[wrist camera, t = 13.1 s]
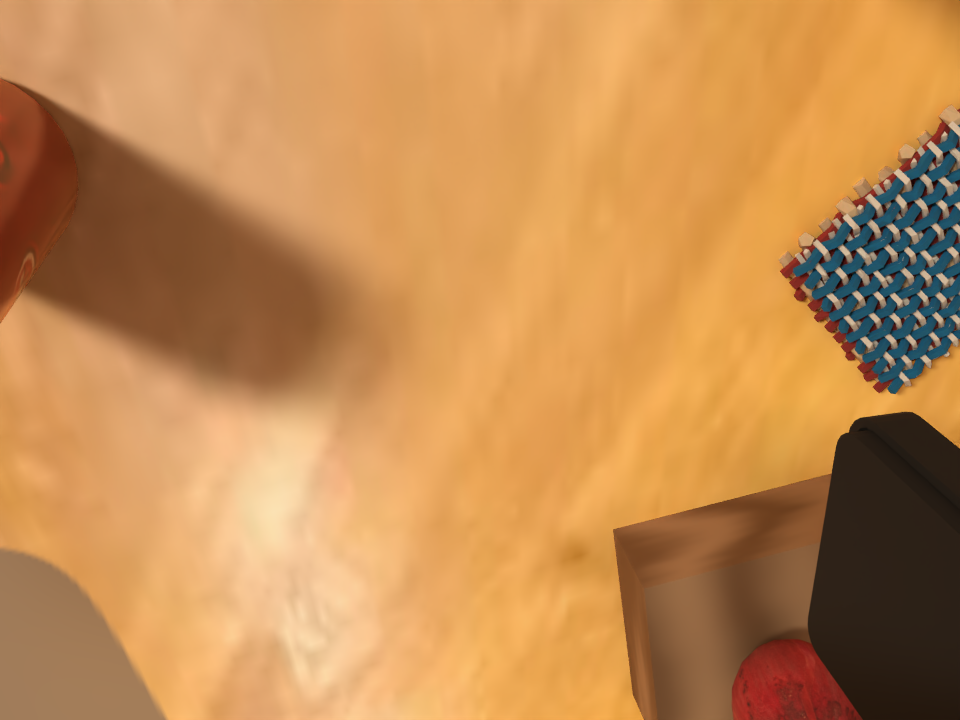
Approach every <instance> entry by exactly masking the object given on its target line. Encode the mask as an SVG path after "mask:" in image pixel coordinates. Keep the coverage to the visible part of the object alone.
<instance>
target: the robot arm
mask: <svg viewBox="0 0 960 720" xmlns="http://www.w3.org/2000/svg"><path fill="white" fill-rule="evenodd" d="M808 633H809V637H810V641H811V643H812V646H813V648H814V650H815V652H816V654H817V655H818V657H819V658H820V660H821V661H822V662H823V664H824V665H825V667H826V668H827V670H828V671H829V672H830V674H831V675H832V677H833V678H834V679H835V681H836V682H837V684H838V685H839V687H840V688H841V689H842V691H843V692H844V694H845V695H846V697H847V698H848V699H849V701H850V702H851V704H852V705H853V707H854V708H855V709H856V711H857V712H858V714H859V715H860V716H861V718H862V719H863V720H960V449H959V448H958V447H957V446H956V445H954V444H953V443H952V442H951V441H949V440H948V439H947V438H946V437H945V436H943V435H942V434H941V433H940V432H938V431H937V430H936V429H935V428H933V427H932V426H931V425H930V424H929V423H927V422H926V421H925V420H924V419H922V418H921V417H920V416H918V415H916V414H914V413H913V412H900V413H893V414H885V415H878V416H870V417H863V418H859V419H858V420H856V421H854V423H853V424H852V426H851V427H850V430H849V433H845V434H843V435H841V437H840V438H839V440H838V442H837V446H836V451H835V457H834V463H833V469H832V475H831V481H830V487H829V493H828V499H827V505H826V511H825V517H824V523H823V529H822V535H821V541H820V548H819V554H818V560H817V566H816V572H815V578H814V584H813V590H812V596H811V602H810V608H809V614H808Z"/></svg>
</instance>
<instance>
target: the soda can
mask: <svg viewBox="0 0 960 720" xmlns="http://www.w3.org/2000/svg"><path fill="white" fill-rule="evenodd" d="M77 195H78V173H77V167H76V163H75V160H74V156H73V152H72V150H71V148H70V145H69V143H68V141H67V139H66V137H65V135H64V133H63V131H62V130H61V129H60V127H59V126H58V125H57V123H56V122H55V120H54V119H53V118H52V116H51V115H50V114H49V113H48V112H47V111H46V110H45V109H44V108H43V107H42V106H41V105H40V104H39V103H38V102H37V101H36V100H35V99H33V98H32V97H31V96H29V95H28V94H26V93H25V92H23V91H22V90H21V89H19V88H18V87H16V86H15V85H13V84H10V83H8V82H6V81H4V80H2V79H0V323H1V322H2V320H3V319H4V317H5V316H6V315H7V313H8V312H9V310H10V309H11V307H12V306H13V304H14V303H15V301H16V300H17V299H18V297H19V296H20V294H21V293H22V291H23V290H24V288H25V287H26V286H27V284H28V283H29V281H30V280H31V278H32V277H33V275H34V274H35V272H36V271H37V270H38V268H39V267H40V265H41V264H42V262H43V261H44V259H45V258H46V256H47V255H48V254H49V252H50V251H51V249H52V248H53V246H54V245H55V243H56V242H57V241H58V239H59V238H60V236H61V235H62V233H63V232H64V230H65V229H66V227H67V226H68V224H69V222H70V220H71V217H72V215H73V212H74V210H75V206H76V201H77Z"/></svg>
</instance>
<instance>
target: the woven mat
mask: <svg viewBox="0 0 960 720" xmlns="http://www.w3.org/2000/svg"><path fill="white" fill-rule="evenodd" d="M939 117H940V118H941V119H942V120H943V122H941V123H940V125H939V128H938V130H937V132H936V134H935V135H933V136H931V135H930V134H929V133H928V132H927V131H925V132H923V133H922V134H921V135H920V136H919V137H918V138H917V139H918V141H919V143H920V144H921V146H920V147H919V149H918V150H917V152H916V153H915V151H916V149H914V148H912V147H911V146H909V145H907V144H905V145H904V146H903V147H902V148H901V149H900V150H899V153H898V160H899V161H900V162H901V164H902V166H901V167H900V168H899V169H897V170H896V171H895V172H894V171H893V170H892V169H891V168H889V167H887V166H885V167H884V168H883V169H882V170H881V171H879V172H878V174H879V181H880V182H881V183H880V184H875V185H874V187H873V189H872V188H871V187H870V185H869V184H868V182H867V181H866V179H865V178H864V177H863V178H862V179H861V180H860V181H859V182H857V183H856V184H855V185H854V186H853V188H854V190H855V191H856V192H857V194H858V195H859V197H860V199H857V200H855V201H853V202H852V201H851V200H850V199H849V198H848V197H845V198H843V199H842V200H840V202H839V203H838V204H837V205H836V208H837V209H838V210H839V211H840V212H839V213H837V214H836V216H835V218H834V220H833V221H832V222H831V221H830V220H829V218H828V217H827V218H826V219H825V220H823V221H822V222H821V223H820V224H819V227H820V228H821V230H822V231H823V233H822V234H821V235H820V236H819V237H818V238H817V239H815V238H814V237H812V236H811V235H809V234H808V233H806V232H804V233H803V234H802V235H801V236H800V237H799V247H801V248H802V250H803V251H802V252H801V253H797V254H795V256H796V257H795V258H793V257H792V256H791V255H790V253H789V252H788V251H787V252H786V253H785V254H784V255H783V256H782V257H781V258H779V259H778V260H779V261H780V263H781V264H782V266H783V267H784V268H783V269H782V270H781V271H780V272H781V273H782V274H783V276H784V277H786V278H787V277H789V276H790V277H791V278H792V280H791V281H790V282H789V283H790V284H791V285H792V287H793V288H795V289H797V290H796V292H795V294H794V297H795V298H796V299H797V300H800V301H803V299H804V297H805V295H806V296H807V297H808V298H809V299H810V301H811V302H810V303H809V304H808V307H809V308H810V309H811V310H812V311H814V312H815V311H816V310H817V309H818V311H819V312H818V313H817V314H816V315H815V317H814V319H815V320H816V321H817V322H819V321H821V320H822V319H824V318H825V319H826V321H827V322H828V323H827V324H826V325H825V326H824V327H825V328H826V329H827V331H829V332H831V333H832V332H833V331H835V332H836V334H835V335H834V336H833V338H834V339H835V340H836V341H837V342H838V343H840V342H842V341H843V342H844V344H843V345H842V346H841V348H842V349H843V350H844V351H845V352H846V356H845V357H846V358H847V359H848V360H854V358H856V359H857V360H859V361H860V363H861V364H860V365H859V366H858V367H857V368H858V369H859V370H860V371H861V372H862V373H863V374H864V373H865V372H866V371H867V372H866V373H865V374H864V375H863V376H864V379H865V380H866V381H870V380H872V379H874V380H876V381H877V383H876V384H875V385H874V386H873V388H874V389H875V390H876V391H877V392H878V393H880V392H881V391H882V390H883V389H885V388H886V387H887V386H889V384H890V386H889V387H888V391H889V392H890V393H892V394H896V392H897V391H898V390H899V388H900V387H901V386H902V384H903V383H905V386H906V387H907V386H912V385H911V383H910V380H909V379H912V378H916V377H917V376H919V375H920V374H921V373H922V370H923V367H924V364H925V363H926V366H927V367H929V368H930V369H931V366H932V362H931V360H933V359H936V358H938V357H940V356H942V355H943V356H944V357H947V356H949V355H950V353H949V352H948V349H949V347H950V345H951V343H953V346H956V347H957V346H958V344H959V341H958V340H959V339H960V258H959V255H960V109H959V110H956V109H955V108H954V107H953V106H952V105H950V106H949V107H947V108H946V109H945V110H944V111H943V112H942V113H941V114H940V115H939ZM948 134H949V135H948ZM947 135H948V136H947ZM913 184H914V187H913V189H912V185H913ZM893 200H894V201H893ZM864 207H865V209H864ZM902 217H903V218H902ZM945 232H947V234H946V236H945V238H944V234H945ZM881 235H882V236H881ZM898 253H899V257H898ZM871 259H872V260H873V261H871ZM851 274H853V275H852V277H851V279H850V282H849V278H850V276H851ZM915 276H916V278H915V280H914V277H915ZM822 281H823V282H824V283H825V285H824V284H823V283H822ZM949 285H950V286H951V287H949ZM866 298H868V301H867V303H866V302H865V300H864V299H866ZM929 302H930V304H929ZM850 312H851V313H850ZM944 318H946V321H945V325H944ZM882 324H883V325H882ZM918 324H921V326H922V327H920V328H919V327H918ZM858 328H859V329H858ZM955 329H957V330H956V331H954V330H955ZM900 338H901V340H900V343H899V345H898V346H897V342H898V340H899V339H900ZM935 346H936V348H934V347H935ZM874 347H875V349H874ZM915 359H916V361H915V363H914V366H913V365H912V362H911V361H913V360H915ZM889 367H890V368H889ZM888 368H889V369H888ZM883 372H884V373H883Z"/></svg>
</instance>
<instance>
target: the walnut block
mask: <svg viewBox="0 0 960 720" xmlns="http://www.w3.org/2000/svg"><path fill="white" fill-rule="evenodd" d="M831 475H832V474H829V475H825V476H821V477H817V478H813V479H809V480H805V481H801V482H797V483H793V484H789V485H786V486H782V487H778V488H774V489H770V490H766V491H762V492H758V493H754V494H750V495H746V496H743V497H739V498H735V499H731V500H727V501H723V502H719V503H715V504H711V505H707V506H703V507H700V508H696V509H692V510H688V511H684V512H680V513H676V514H672V515H668V516H664V517H660V518H657V519H653V520H649V521H645V522H641V523H637V524H633V525H629V526H625V527H621V528H617V529H614V530H613V532H614V541H615V549H616V557H617V566H618V574H619V582H620V591H621V599H622V607H623V616H624V624H625V632H626V641H627V649H628V657H629V666H630V674H631V682H632V691H633V696H634V698H635V700H636V702H637V705H638V707H639V709H640V712H641V714H642V716H643V718H644V720H733V712H732V686H733V683H734V680H735V677H736V675H737V673H738V670H739V668H740V666H741V663H742V661H744V660H745V659H746V658H747V657H748V656H749V655H750V654H751V653H752V652H753V651H754V650H755V649H756V648H757V647H758V646H761V645H763V644H766V643H768V642H771V641H773V640H783V639H800V640H803V641H806V642H809V643H811V641H810V637H809V633H808V614H809V608H810V602H811V596H812V590H813V584H814V578H815V572H816V566H817V560H818V554H819V548H820V541H821V535H822V529H823V523H824V517H825V511H826V505H827V499H828V493H829V487H830V481H831Z"/></svg>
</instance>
